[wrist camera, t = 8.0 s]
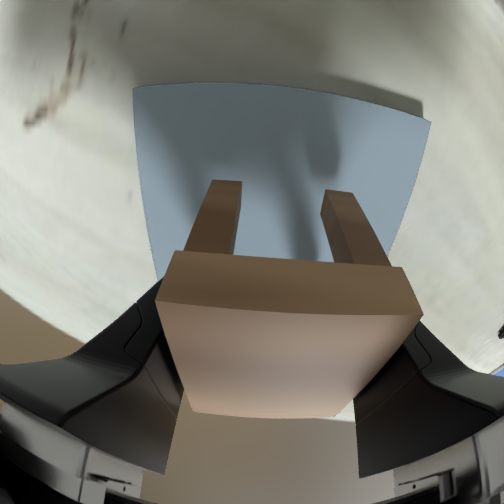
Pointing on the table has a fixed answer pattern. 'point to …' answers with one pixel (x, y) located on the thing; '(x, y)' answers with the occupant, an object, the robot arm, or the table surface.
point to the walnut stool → (281, 314)
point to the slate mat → (271, 163)
